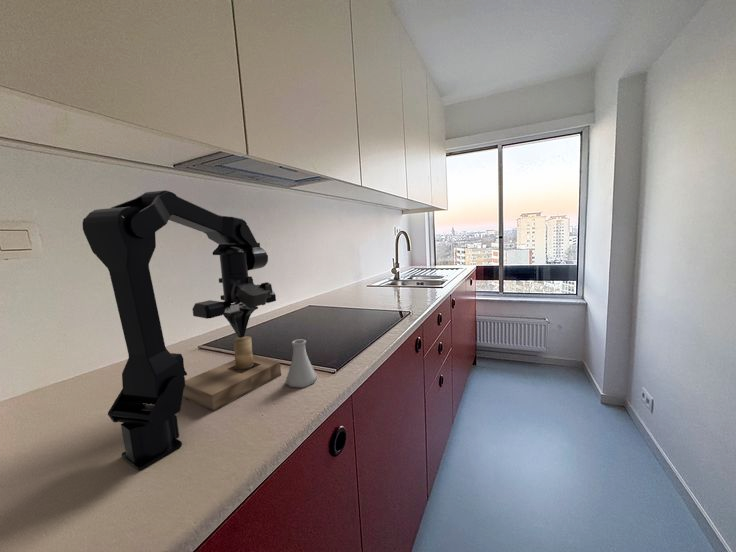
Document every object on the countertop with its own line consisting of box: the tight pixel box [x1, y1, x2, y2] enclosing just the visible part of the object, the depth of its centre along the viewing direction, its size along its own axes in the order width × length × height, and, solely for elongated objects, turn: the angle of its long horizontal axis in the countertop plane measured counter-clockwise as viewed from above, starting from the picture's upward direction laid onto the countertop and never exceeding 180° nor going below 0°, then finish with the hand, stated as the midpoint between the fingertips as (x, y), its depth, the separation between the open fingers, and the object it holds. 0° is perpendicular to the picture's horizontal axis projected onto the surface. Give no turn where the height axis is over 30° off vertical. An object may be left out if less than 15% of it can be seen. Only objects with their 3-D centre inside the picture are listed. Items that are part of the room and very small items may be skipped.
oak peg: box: [233, 335, 254, 374], centre depth 74 cm, size 4×4×10 cm
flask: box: [285, 338, 318, 388], centre depth 73 cm, size 7×7×10 cm
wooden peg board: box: [182, 354, 282, 412], centre depth 72 cm, size 18×12×4 cm, turn 149°
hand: (241, 337), depth 74 cm, fingers closed
